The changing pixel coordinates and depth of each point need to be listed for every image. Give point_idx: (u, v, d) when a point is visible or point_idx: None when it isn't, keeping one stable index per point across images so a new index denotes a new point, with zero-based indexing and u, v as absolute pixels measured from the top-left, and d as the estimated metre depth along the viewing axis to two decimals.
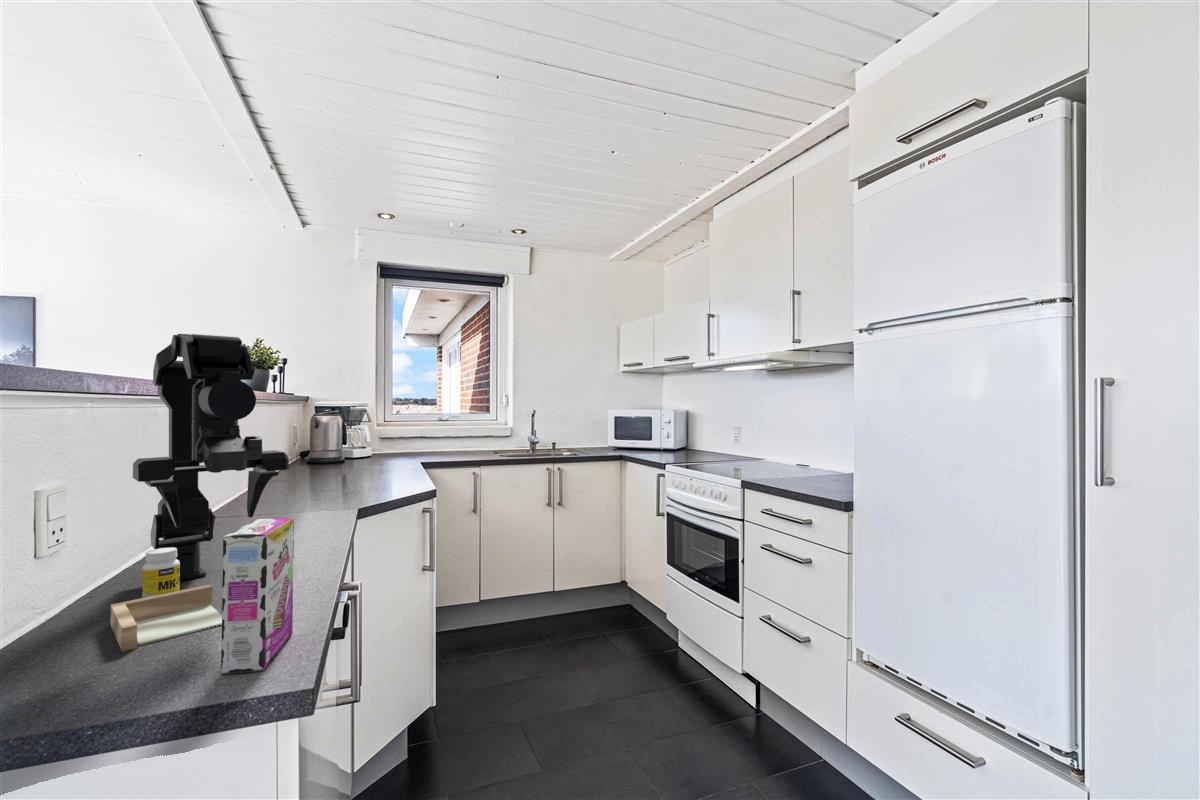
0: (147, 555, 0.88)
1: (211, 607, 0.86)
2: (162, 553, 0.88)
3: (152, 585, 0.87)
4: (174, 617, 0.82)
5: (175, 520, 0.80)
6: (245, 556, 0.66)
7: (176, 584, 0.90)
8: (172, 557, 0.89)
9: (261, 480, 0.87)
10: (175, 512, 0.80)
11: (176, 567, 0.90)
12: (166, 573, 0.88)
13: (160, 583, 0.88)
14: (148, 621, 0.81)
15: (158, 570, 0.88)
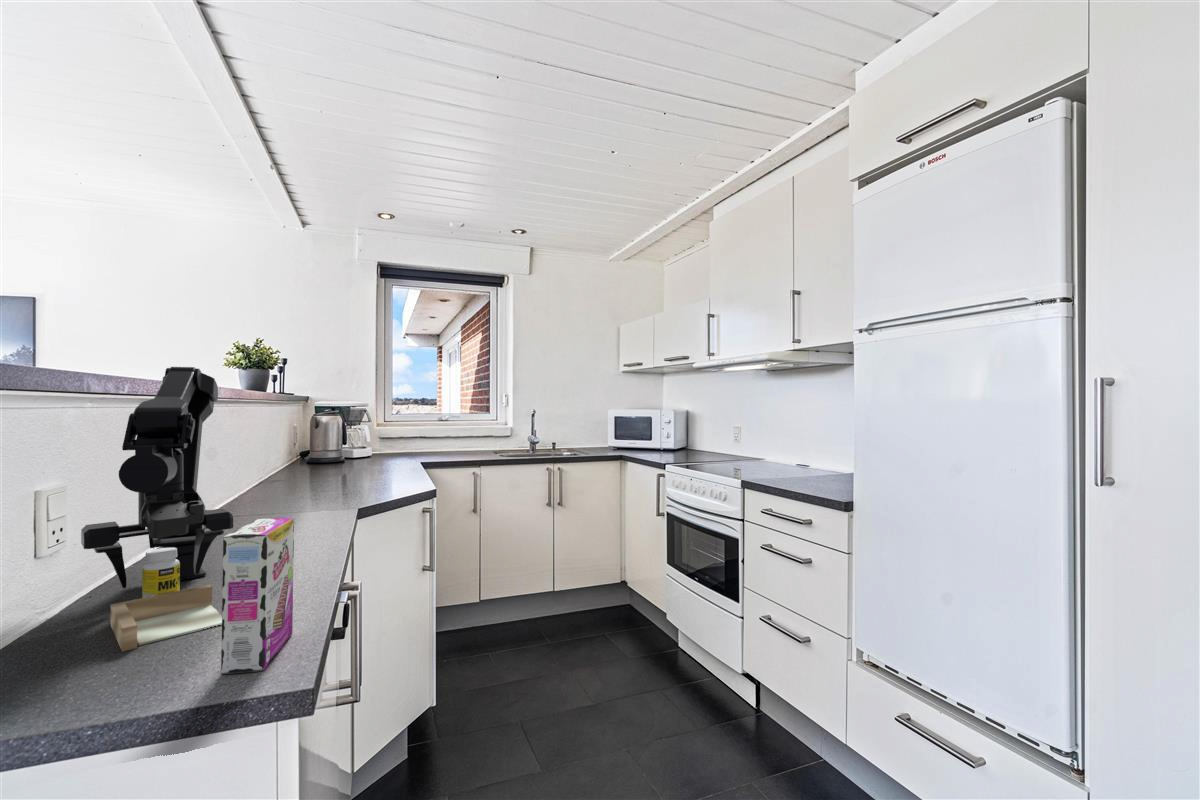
0: (147, 555, 0.88)
1: (211, 607, 0.86)
2: (162, 553, 0.88)
3: (152, 585, 0.87)
4: (174, 617, 0.82)
5: (121, 582, 0.86)
6: (246, 556, 0.66)
7: (176, 584, 0.90)
8: (172, 557, 0.89)
9: (205, 539, 0.92)
10: (121, 574, 0.85)
11: (176, 567, 0.90)
12: (166, 573, 0.88)
13: (160, 583, 0.88)
14: (148, 621, 0.81)
15: (158, 570, 0.88)
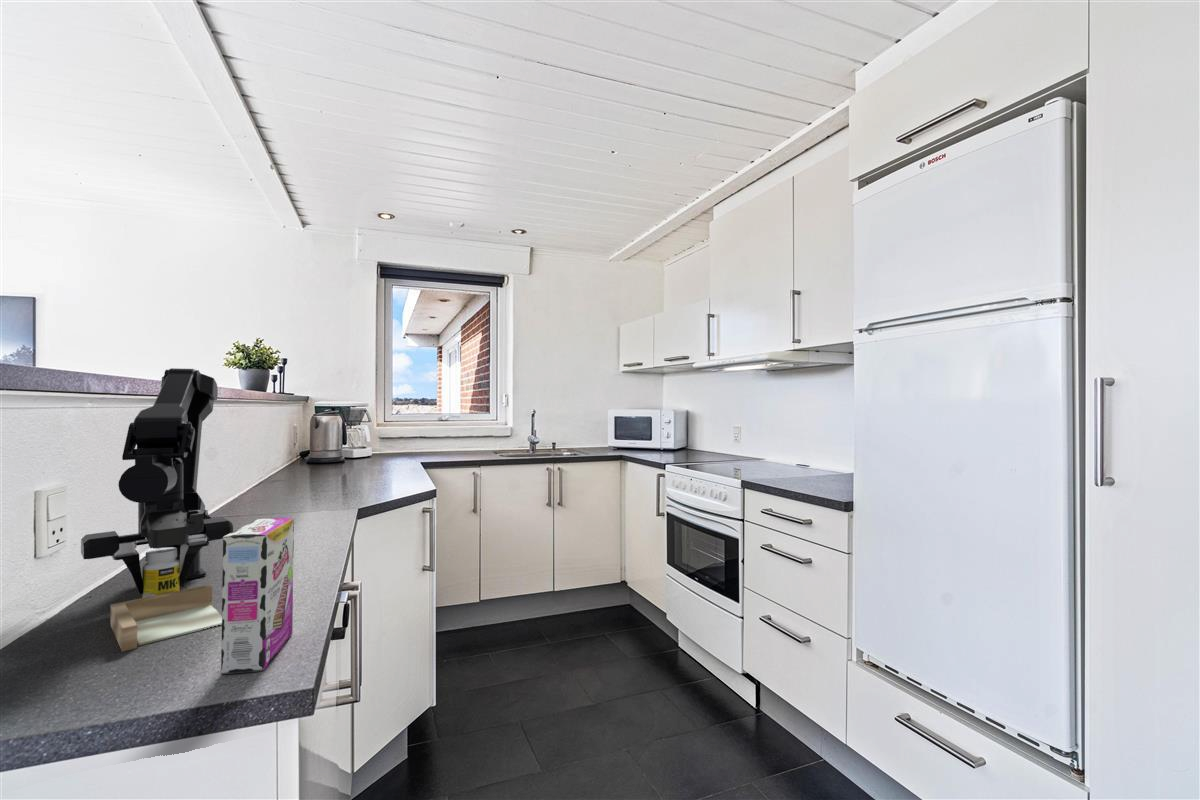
0: (147, 555, 0.88)
1: (211, 607, 0.86)
2: (162, 553, 0.88)
3: (152, 585, 0.87)
4: (174, 617, 0.82)
5: (138, 588, 0.87)
6: (245, 556, 0.66)
7: (176, 584, 0.90)
8: (172, 557, 0.89)
9: (190, 551, 0.91)
10: (138, 581, 0.87)
11: (176, 567, 0.90)
12: (166, 572, 0.88)
13: (160, 583, 0.88)
14: (148, 621, 0.81)
15: (158, 570, 0.88)
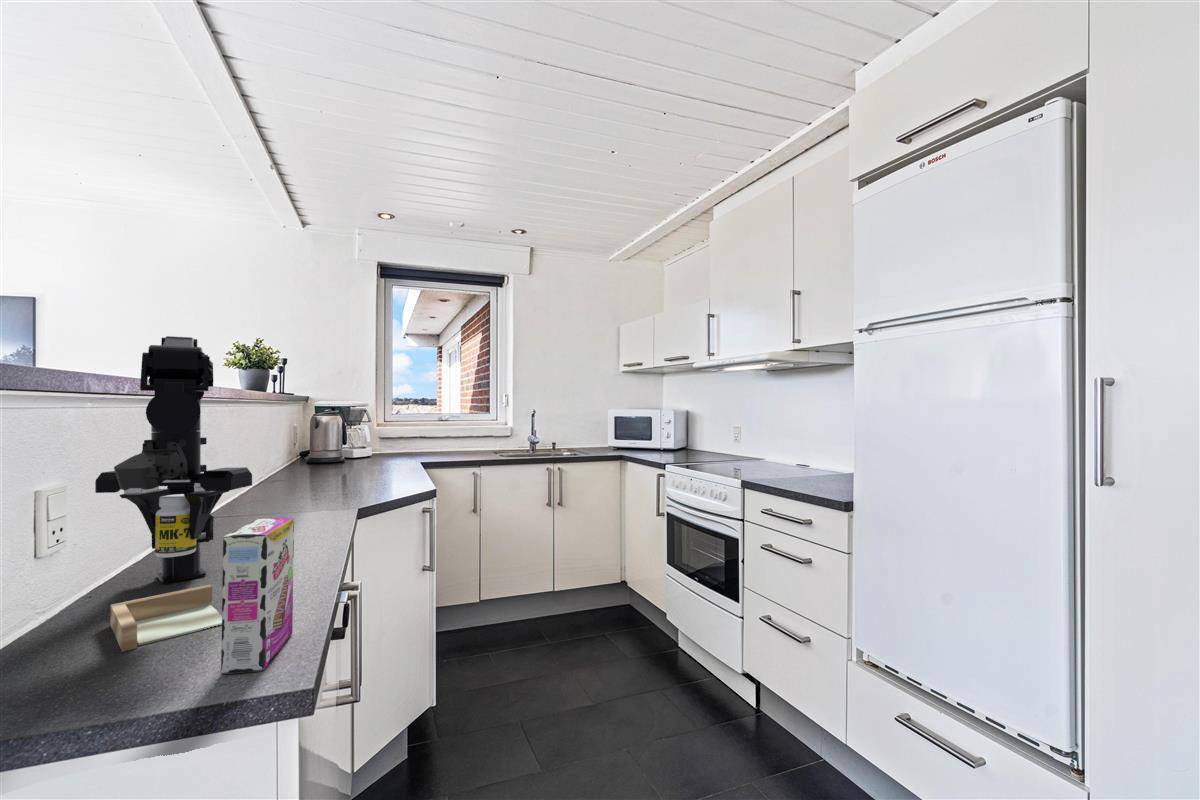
0: None
1: (211, 607, 0.86)
2: (165, 498, 0.79)
3: (156, 532, 0.79)
4: (174, 617, 0.82)
5: (152, 533, 0.80)
6: (246, 556, 0.66)
7: (180, 536, 0.79)
8: (176, 504, 0.79)
9: (190, 500, 0.79)
10: (150, 525, 0.80)
11: (180, 516, 0.79)
12: (167, 521, 0.78)
13: (161, 532, 0.78)
14: (148, 621, 0.81)
15: (159, 516, 0.79)
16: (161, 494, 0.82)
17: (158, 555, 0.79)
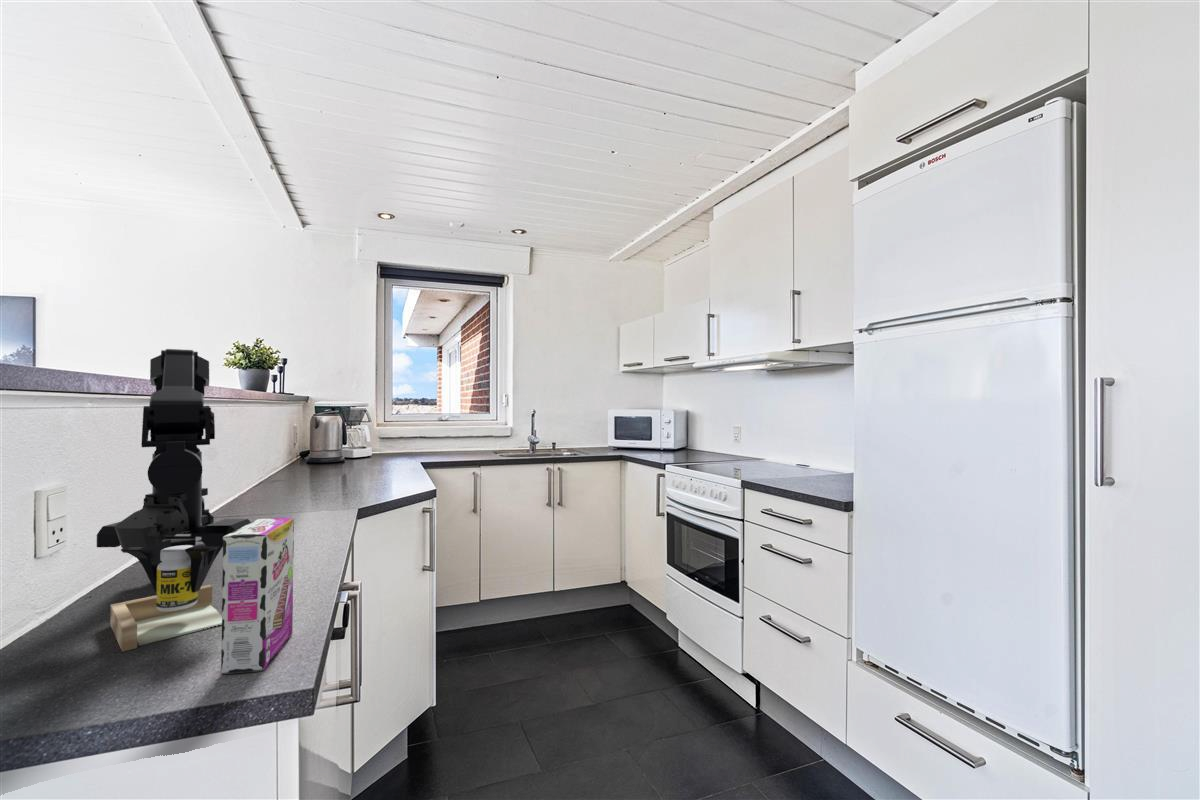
0: (161, 551, 0.80)
1: (211, 607, 0.86)
2: (166, 552, 0.79)
3: (157, 586, 0.79)
4: (174, 617, 0.82)
5: (153, 586, 0.80)
6: (245, 556, 0.66)
7: (181, 590, 0.79)
8: (177, 558, 0.79)
9: (191, 554, 0.79)
10: (151, 578, 0.80)
11: (181, 570, 0.79)
12: (168, 575, 0.78)
13: (162, 586, 0.78)
14: (148, 621, 0.81)
15: (160, 571, 0.78)
16: (162, 545, 0.82)
17: (159, 609, 0.79)
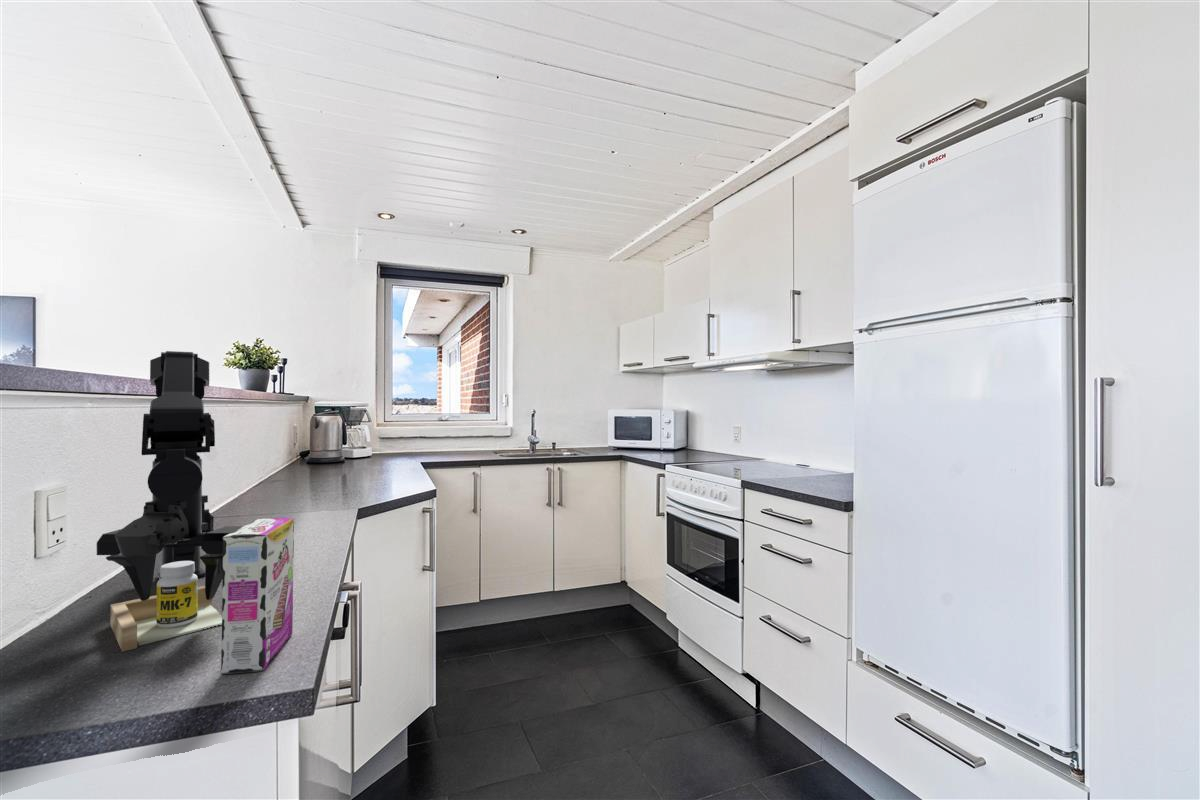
0: None
1: (211, 607, 0.86)
2: (166, 569, 0.79)
3: (157, 602, 0.79)
4: None
5: (138, 594, 0.80)
6: (245, 556, 0.66)
7: (181, 606, 0.79)
8: (177, 575, 0.79)
9: (206, 562, 0.79)
10: (137, 586, 0.80)
11: (181, 587, 0.79)
12: (168, 592, 0.78)
13: (162, 603, 0.78)
14: (148, 621, 0.81)
15: (160, 587, 0.78)
16: None
17: (159, 625, 0.78)
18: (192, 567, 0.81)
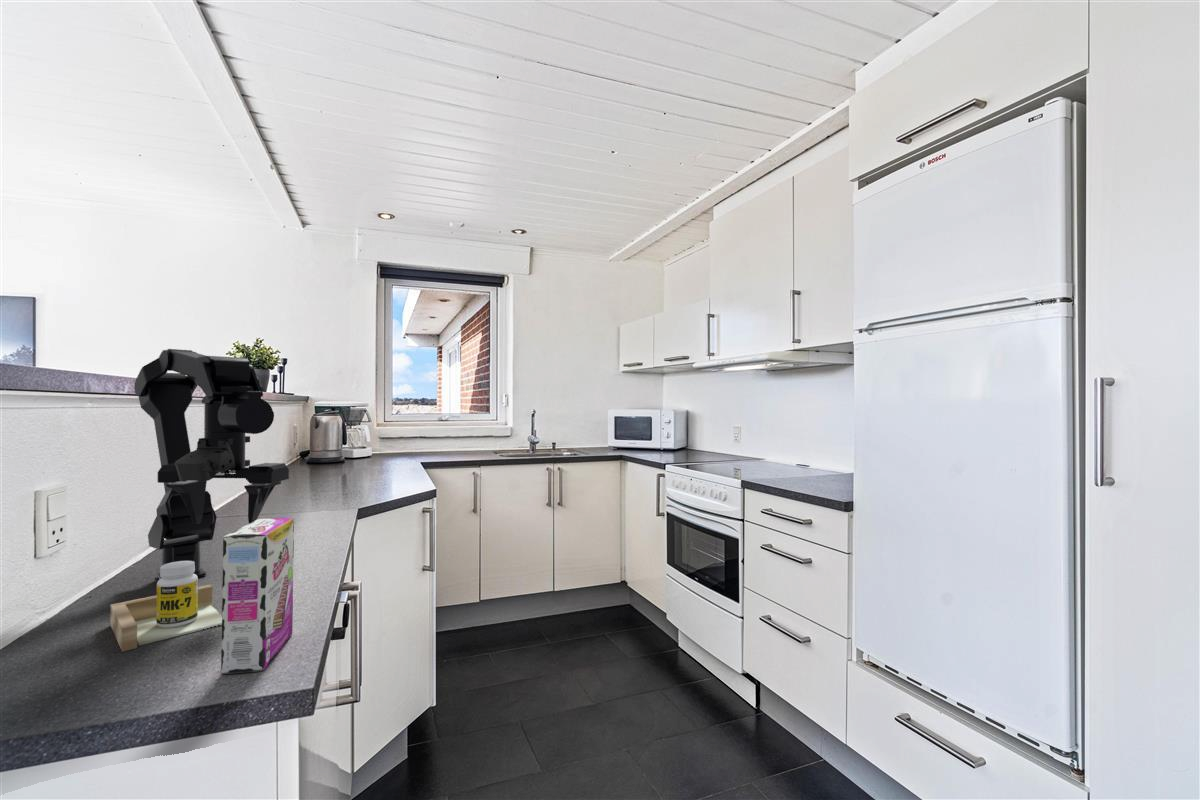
0: None
1: (211, 607, 0.86)
2: (166, 569, 0.79)
3: (157, 602, 0.79)
4: None
5: (191, 518, 0.93)
6: (246, 556, 0.66)
7: (181, 606, 0.79)
8: (177, 575, 0.79)
9: (249, 491, 0.91)
10: (190, 511, 0.93)
11: (181, 587, 0.79)
12: (168, 592, 0.78)
13: (162, 603, 0.78)
14: (148, 621, 0.81)
15: (160, 587, 0.78)
16: (199, 484, 0.95)
17: (159, 625, 0.78)
18: (192, 567, 0.81)
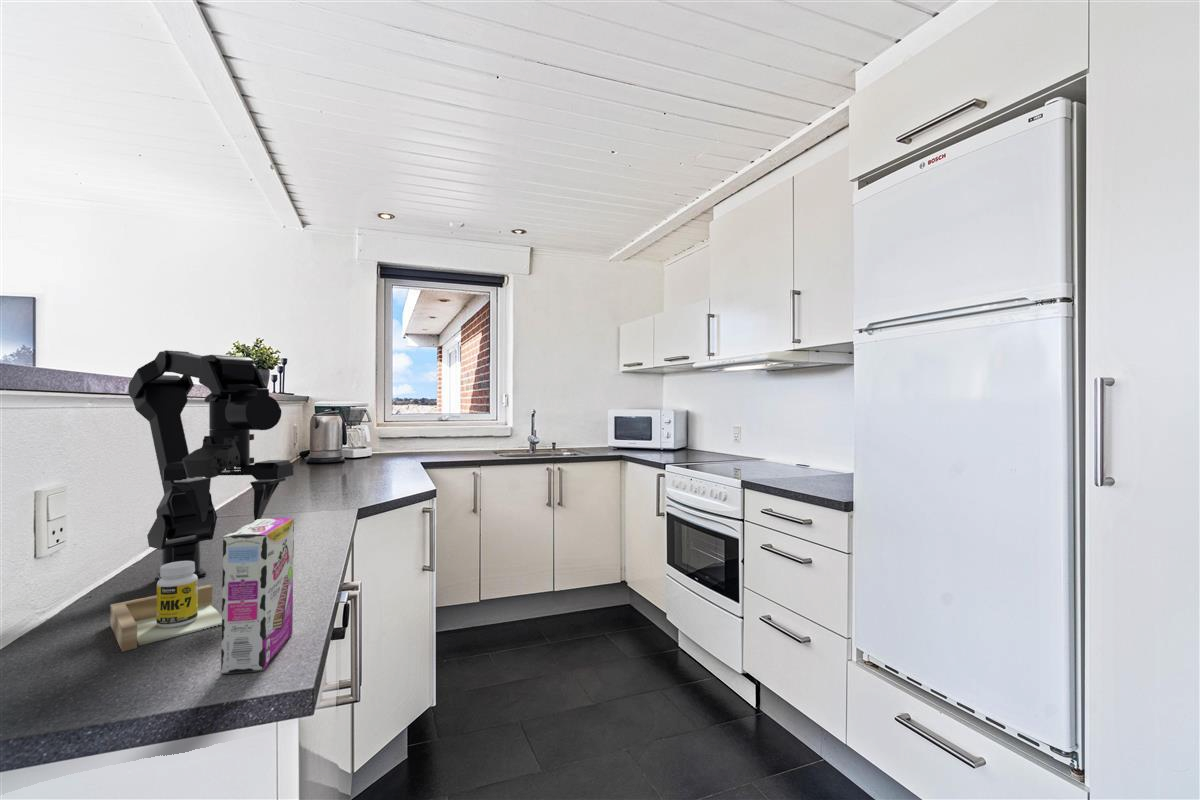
0: None
1: (211, 607, 0.86)
2: (166, 569, 0.79)
3: (157, 602, 0.79)
4: None
5: (197, 515, 0.94)
6: (245, 556, 0.66)
7: (181, 606, 0.79)
8: (177, 575, 0.79)
9: (255, 487, 0.93)
10: (196, 508, 0.94)
11: (181, 587, 0.79)
12: (168, 592, 0.78)
13: (162, 603, 0.78)
14: (148, 621, 0.81)
15: (160, 587, 0.78)
16: (204, 482, 0.96)
17: (159, 625, 0.78)
18: (192, 567, 0.81)
